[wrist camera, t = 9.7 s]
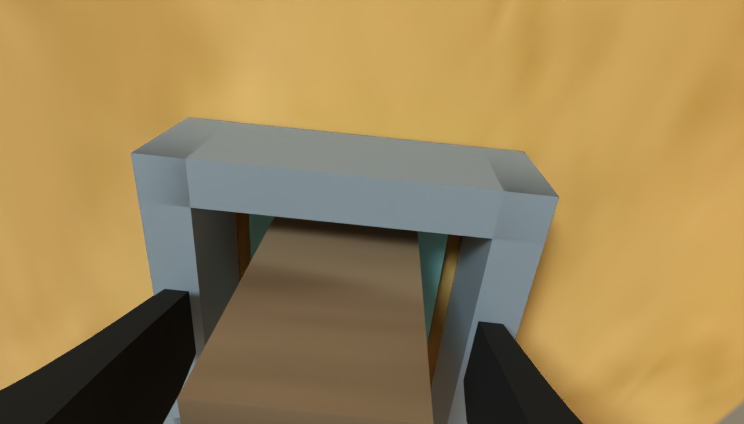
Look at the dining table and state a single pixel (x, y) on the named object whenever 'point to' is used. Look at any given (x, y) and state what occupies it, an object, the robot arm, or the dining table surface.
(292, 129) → the grey open rectangular frame
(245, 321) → the block
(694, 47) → the dining table surface
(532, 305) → the dining table surface
